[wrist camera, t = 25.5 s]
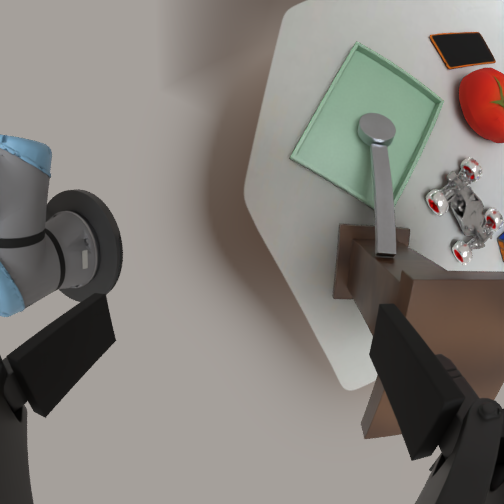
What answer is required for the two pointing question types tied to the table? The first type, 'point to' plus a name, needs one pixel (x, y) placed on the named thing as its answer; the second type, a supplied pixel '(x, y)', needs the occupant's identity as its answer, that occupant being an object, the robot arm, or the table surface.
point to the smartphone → (462, 49)
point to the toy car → (466, 209)
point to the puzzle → (501, 245)
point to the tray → (347, 120)
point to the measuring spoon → (381, 179)
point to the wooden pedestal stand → (424, 312)
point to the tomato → (484, 103)
